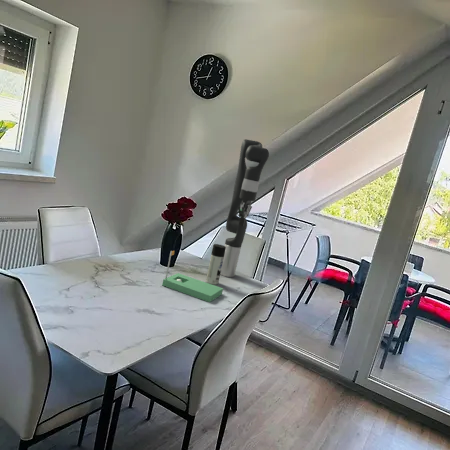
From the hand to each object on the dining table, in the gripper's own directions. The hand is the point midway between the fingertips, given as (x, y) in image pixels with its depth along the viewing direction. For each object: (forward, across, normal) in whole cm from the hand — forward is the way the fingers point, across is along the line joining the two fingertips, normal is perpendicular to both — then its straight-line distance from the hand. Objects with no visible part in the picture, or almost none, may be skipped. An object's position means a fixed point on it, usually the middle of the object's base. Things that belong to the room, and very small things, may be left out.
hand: (241, 225), depth 201 cm
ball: (+34, +9, -22) cm, 41 cm away
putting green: (+35, +9, -14) cm, 39 cm away
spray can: (+35, -10, -12) cm, 39 cm away
